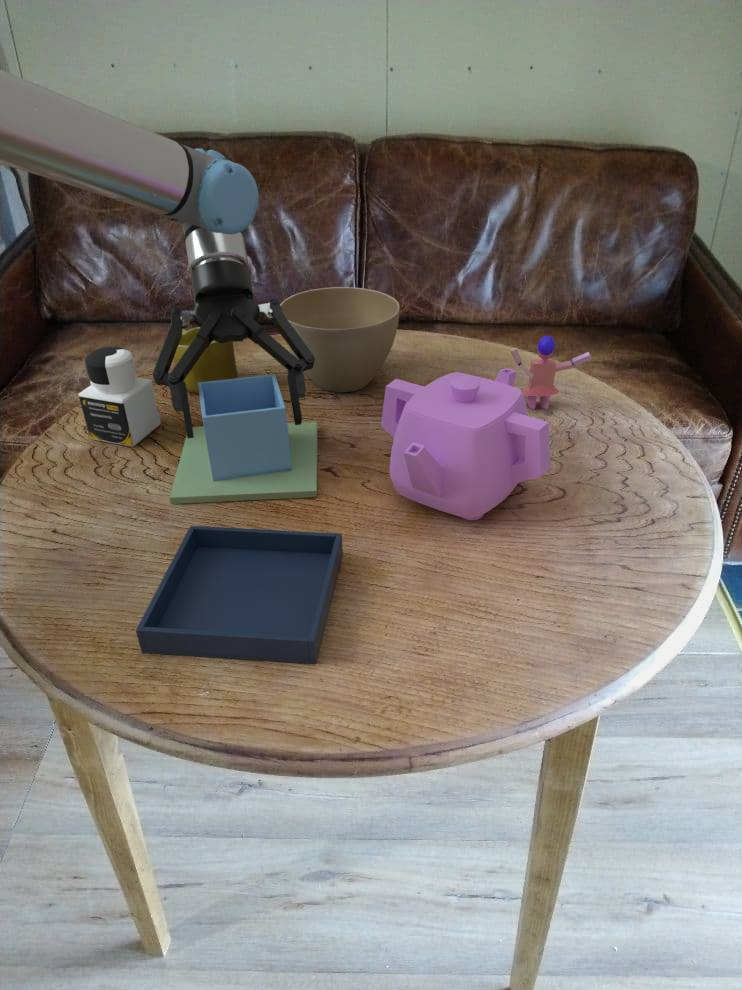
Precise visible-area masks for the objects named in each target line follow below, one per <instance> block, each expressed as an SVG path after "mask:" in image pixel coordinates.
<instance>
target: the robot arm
mask: <svg viewBox="0 0 742 990" xmlns="http://www.w3.org/2000/svg"><path fill="white" fill-rule="evenodd" d="M0 164H1V165H4V166H8V167H11V168H14V169H17V170H21V171H23V172H28V173H29V174H33V175H36V176H39V177H43V178H45V179H49V180H52V181H55V182H58V183H62V184H65V185H68V186H71V187H74V188H78V189H80V190H84V191H87V192H90V193H93V194H97V195H99V196H103V197H106V198H110V199H111V200H115V201H117V202H122V203H125V204H128V205H131V206H134V207H136V208H139V209H141V210H144V211H146V212H150V213H153V214H156V215H158V216H161V217H163V218H166V219H168V220H171V221H174V222H176V223H179V224H180V225H181V227H182V231H183V237H184V242H185V250H186V256H187V262H188V267H189V271H190V274H191V275H190V280H191V281H190V282H191V287H192V293H193V300H194V308H193V310H185V309H183V310H181V308H180V307H179V306H173V307H171V308H170V326H169V328H168V332H167V334H166V336H165V338H164V341H163V344H162V347H161V350H160V352H159V355H158V357H157V360H156V363H155V365H154V368H153V371H152V377H153V380H154V383H155V385H157V386H160V387H161V386H165V387H168V388H169V393H170V397H171V404H172V409H173V410H174V412H175V413H181V412H182V414H183V421H184V427H185V433H186V436H187V437H188V438H194V435H193V428H192V427H193V423H192V416H191V409H190V403H189V402H190V401H189V397H188V396H189V395H188V390H187V389H186V385H185V381H184V379H185V378H186V376H187V375H188V374H189V372H190V371H191V369H192V368H193V366H194V365H195V364H196V362H197V361H198V359H199V358H200V356H201V355H202V353H203V352H204V351H205V349H207V348H208V347H209V345H210V344H211V342H212V341H213V340H214V341H216V342H219V343H226V342H229V341H233V342H237V343H238V342H243V341H244V340H245V339H247V338H248V339H249V340H250V341H252V342H253V344H256V345H258V346H259V347H260V348H261V349H263V350H264V351H265V352H266V353H267V354H268V355H270V356H271V357H272V358H273V359H274V360H276V361H277V362H278V363H279V364H280V365H281V366H282V367H283V368H285V369H286V370H287V374H286V380H287V385H288V390H289V391H288V392H289V397H290V403H291V409H292V415H293V421H294V423H295V425H301V422H302V421H303V414H302V409H301V403H300V399H303V398H305V396H306V391H307V389H306V382H305V377H304V373H305V372H304V371H306V370H310V369H312V368H313V366H314V361H315V357H314V355H313V354H312V352H311V351H310V350H309V348H308V347H307V346H306V344H305V343H304V342H303V340H302V339H301V338H300V336H299V335H298V333H297V332H296V331H295V329H294V328H293V327H292V325H291V324H290V323H289V321H288V320H287V319H286V317H285V316H284V314H283V313H282V309H281V306H280V304H281V302H280V300H279V299H278V298H276V297H272V298H271V299H270V301H269V302H266V303H259V304H258V303H257V302H256V300H255V297H254V291H253V285H252V279H251V272H250V270H249V259H248V253H247V249H246V243H245V237H244V231H245V230H246V229H247V228H248V227H249V226H250V225H251V224H252V223H253V221H254V219H255V217H256V215H257V210H258V206H259V190H258V186H257V182H256V180H255V178H254V177H253V175H252V173H251V172H250V171H249V170H248V169H247V168H246V167H244V166H243V165H241V164H240V163H236V162H233V161H232V160H230V159H228V158H227V157H226V156H225V155H223V154H222V153H220V152H218V151H216V150H214V149H209V150H204V149H203V148H192V147H190V146H187V145H185V144H181V143H179V142H178V141H176V140H173V139H171V138H168V137H166V136H164V135H161V134H159V133H157V132H154V131H151V130H149V129H146V128H144V127H142V126H139V125H137V124H134V123H132V122H129V121H127V120H125V119H122V118H119V117H117V116H115V115H112V114H110V113H108V112H105V111H103V110H101V109H99V108H95V107H93V106H90V105H89V104H86V103H84V102H81V101H78V100H76V99H74V98H72V97H69V96H66V95H65V94H62V93H60V92H57V91H55V90H53V89H49V88H47V87H44V86H42V85H40V84H38V83H35V82H32V81H30V80H28V79H25V78H23V77H20V76H18V75H15V74H13V73H10V72H8V71H6V70H4V69H1V68H0ZM260 316H264V317H265V318H266V320H268V321H270V322H271V321H272V323H273V325H274V327H275V329H276V330H277V332H278V333H279V334H280V335H281V337H282V338H283V339H284V341H285V342H286V344H287V343H288V345H289V346H290V348H291V349H292V350H293V352H294V353H295V354H296V356H297V357H298V358H299V360H298V359H297V358H296V357H295V356H294V355H292V353H291V351H290V350H287V348H285V347H284V346H283V345H282V344H281V343H280V342H278V341H277V340H276V339H275V338H274V337H273V336H272V335H270V334H269V333H268V332H267V331H266V330H264V328H263V326H262V325H260V323H258V320H259V318H260ZM191 322H194V323H195V325H197V327H200V329H199V331H198V333H197V335H196V337H195V339H194V340H193V341H192V343H191V344H190V346H189V347H188V349H187V350H186V351H185V353H184V354H183V356H182V357H181V359H180V360H179V361H178V363H177V364H176V366H175V365H174V367H173V369H172V370H171V372H170V369H171V366H172V363H173V362H174V361H173V358H174V356H175V353H176V350H177V348H178V345H179V342H180V339H181V336H182V332H183V329H184V330H186V329H187V328H188V327H189V325H190V323H191ZM288 345H287V346H288ZM169 372H170V373H169Z"/></svg>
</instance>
